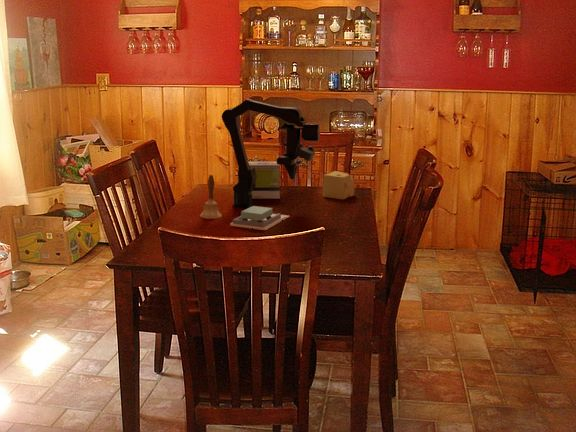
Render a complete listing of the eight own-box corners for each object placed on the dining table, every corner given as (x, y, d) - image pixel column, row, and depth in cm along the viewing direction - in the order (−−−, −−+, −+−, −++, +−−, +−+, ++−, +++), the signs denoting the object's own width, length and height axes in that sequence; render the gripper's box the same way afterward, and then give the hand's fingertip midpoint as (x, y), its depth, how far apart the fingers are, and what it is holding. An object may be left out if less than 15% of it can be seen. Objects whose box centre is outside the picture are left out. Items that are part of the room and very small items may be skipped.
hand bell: (225, 214, 268) (225, 174, 264) (216, 219, 260) (215, 177, 256) (205, 212, 270) (205, 172, 266) (196, 217, 262) (195, 176, 259)
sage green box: (241, 223, 252) (241, 211, 251) (252, 217, 261) (252, 205, 260) (261, 226, 249) (261, 214, 248) (272, 219, 258) (272, 208, 257)
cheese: (354, 195, 305) (355, 173, 303) (342, 200, 296) (343, 177, 294) (333, 192, 310) (334, 170, 308) (321, 197, 302) (322, 174, 299)
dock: (230, 225, 252) (230, 219, 252) (256, 212, 272) (256, 206, 271) (265, 230, 247) (265, 223, 246) (289, 216, 267) (289, 210, 266)
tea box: (279, 194, 305) (279, 161, 301) (279, 199, 295) (280, 165, 292) (244, 194, 304) (245, 160, 301) (244, 199, 295) (244, 164, 291)
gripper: (303, 144, 261) (302, 185, 265) (320, 138, 277) (319, 177, 281) (276, 142, 265) (275, 182, 269) (294, 136, 282) (294, 174, 285)
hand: (292, 179), depth 276 cm, fingers closed
